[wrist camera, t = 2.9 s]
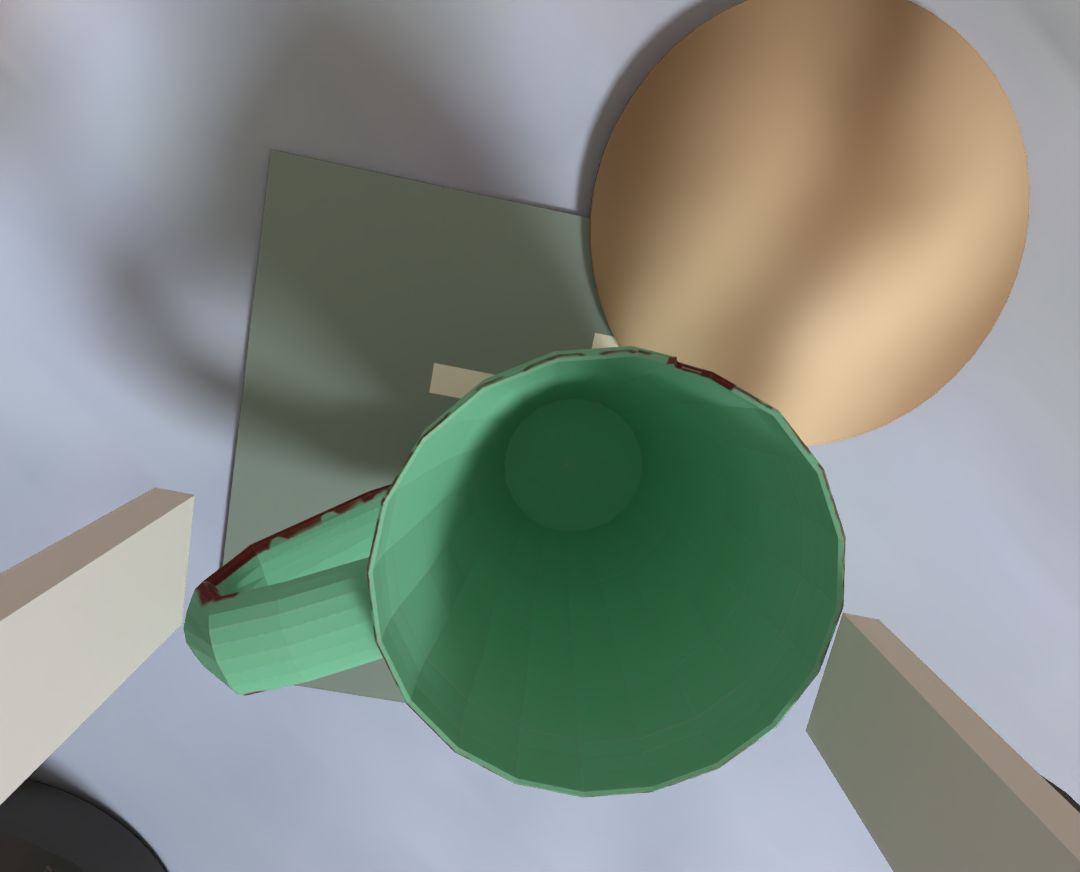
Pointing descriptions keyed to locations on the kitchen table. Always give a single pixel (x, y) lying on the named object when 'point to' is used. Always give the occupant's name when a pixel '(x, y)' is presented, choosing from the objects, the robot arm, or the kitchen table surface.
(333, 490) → the tile
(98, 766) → the kitchen table surface
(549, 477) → the mug
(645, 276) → the coaster
